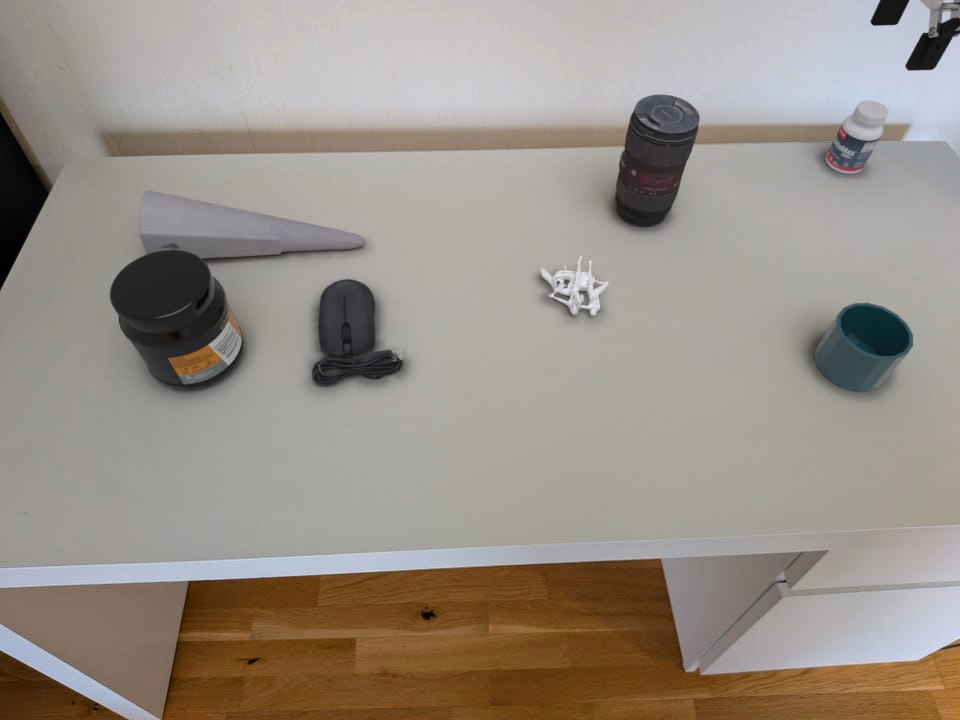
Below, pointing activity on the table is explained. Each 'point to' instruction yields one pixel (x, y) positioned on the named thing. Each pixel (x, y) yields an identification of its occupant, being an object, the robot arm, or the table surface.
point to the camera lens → (654, 158)
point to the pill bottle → (857, 138)
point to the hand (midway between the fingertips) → (900, 45)
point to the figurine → (576, 288)
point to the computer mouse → (350, 334)
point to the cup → (863, 347)
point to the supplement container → (177, 319)
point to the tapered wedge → (228, 230)
